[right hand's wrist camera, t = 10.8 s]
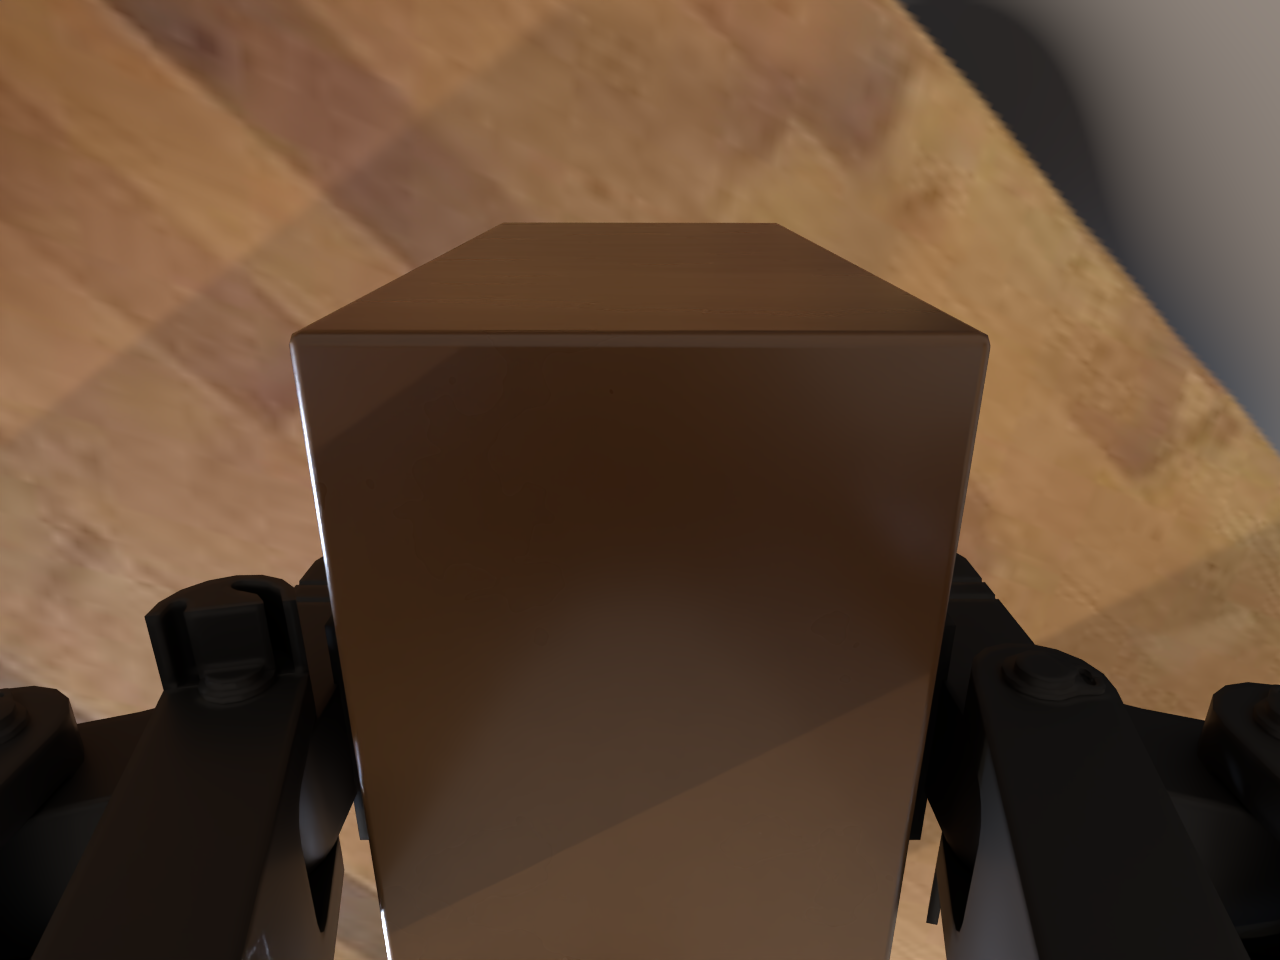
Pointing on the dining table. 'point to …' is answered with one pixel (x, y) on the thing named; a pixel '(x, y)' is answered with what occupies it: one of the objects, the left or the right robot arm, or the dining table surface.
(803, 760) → the beam
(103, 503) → the dining table surface
